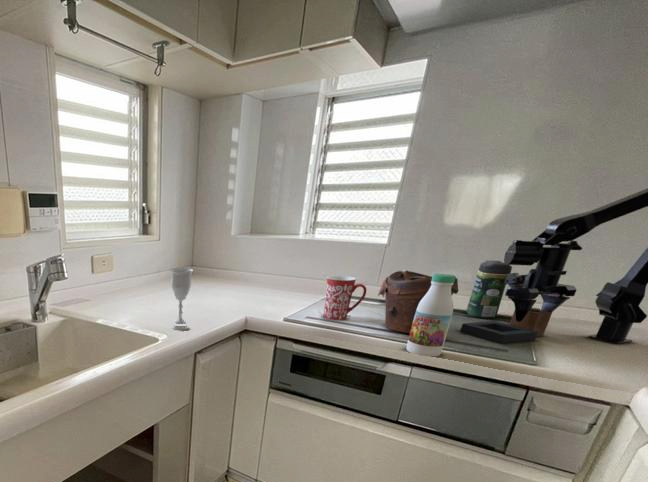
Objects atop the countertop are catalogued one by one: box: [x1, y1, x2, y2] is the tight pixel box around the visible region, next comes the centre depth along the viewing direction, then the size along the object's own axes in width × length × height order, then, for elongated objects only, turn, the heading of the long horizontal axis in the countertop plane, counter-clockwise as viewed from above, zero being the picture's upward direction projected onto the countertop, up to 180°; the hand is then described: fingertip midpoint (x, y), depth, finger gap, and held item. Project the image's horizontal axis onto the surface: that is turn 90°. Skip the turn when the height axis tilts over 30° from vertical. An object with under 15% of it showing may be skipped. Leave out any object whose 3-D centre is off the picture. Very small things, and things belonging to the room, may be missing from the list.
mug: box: [323, 275, 367, 321], centre depth 135 cm, size 13×9×14 cm
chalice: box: [170, 267, 194, 331], centre depth 124 cm, size 7×7×18 cm
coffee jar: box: [466, 260, 513, 320], centre depth 136 cm, size 10×8×19 cm
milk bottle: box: [406, 273, 456, 358], centre depth 101 cm, size 8×8×20 cm
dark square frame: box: [459, 320, 538, 344], centre depth 118 cm, size 12×12×2 cm
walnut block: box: [509, 307, 553, 338], centre depth 119 cm, size 5×6×8 cm
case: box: [377, 269, 459, 335], centre depth 122 cm, size 18×20×18 cm
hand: (530, 320), depth 119 cm, fingers open, 9 cm apart
